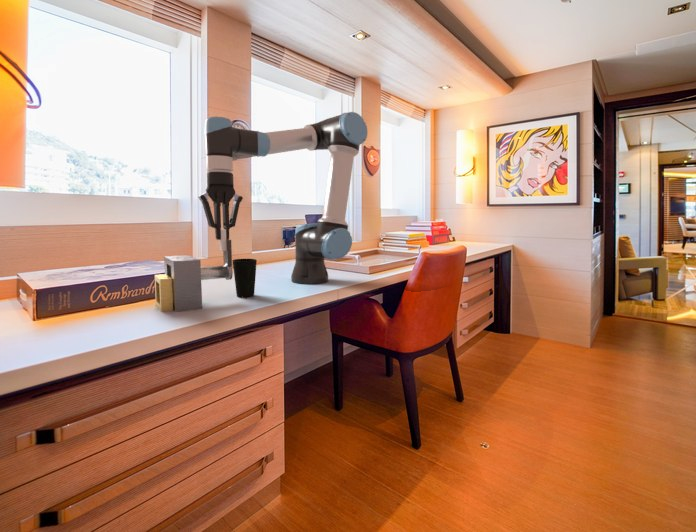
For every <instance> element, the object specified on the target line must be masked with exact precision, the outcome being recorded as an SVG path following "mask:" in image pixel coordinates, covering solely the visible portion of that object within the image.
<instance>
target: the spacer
mask: <svg viewBox="0 0 696 532" xmlns="http://www.w3.org/2000/svg"><path fill="white" fill-rule="evenodd" d="M154 292H155V297H154V298H155V306H156V307H157V309H158V310H160V311H161V312H168V311H173V310H174V309H173V292H172V278H171V277H169V276H168V275H166V274H165V273H163V274H162V273H161V274H160V273H159V274H154Z"/></svg>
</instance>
